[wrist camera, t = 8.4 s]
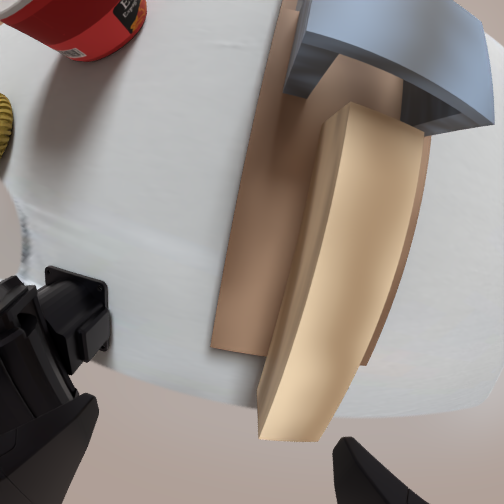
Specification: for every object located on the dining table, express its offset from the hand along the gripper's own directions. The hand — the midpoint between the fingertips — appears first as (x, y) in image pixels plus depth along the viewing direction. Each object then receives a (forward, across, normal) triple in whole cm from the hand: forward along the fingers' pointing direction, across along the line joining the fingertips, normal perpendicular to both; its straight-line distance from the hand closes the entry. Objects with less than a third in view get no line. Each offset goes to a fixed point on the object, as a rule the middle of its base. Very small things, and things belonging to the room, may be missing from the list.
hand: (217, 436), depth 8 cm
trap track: (+12, -5, -12) cm, 18 cm away
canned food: (+12, +15, -20) cm, 28 cm away
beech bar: (+10, -5, -3) cm, 12 cm away
